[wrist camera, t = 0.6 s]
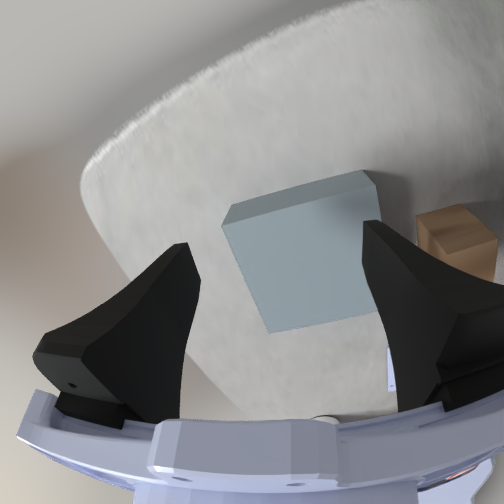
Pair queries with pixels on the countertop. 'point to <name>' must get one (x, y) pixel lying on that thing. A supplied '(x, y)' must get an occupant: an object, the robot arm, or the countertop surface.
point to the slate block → (305, 250)
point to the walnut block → (459, 240)
